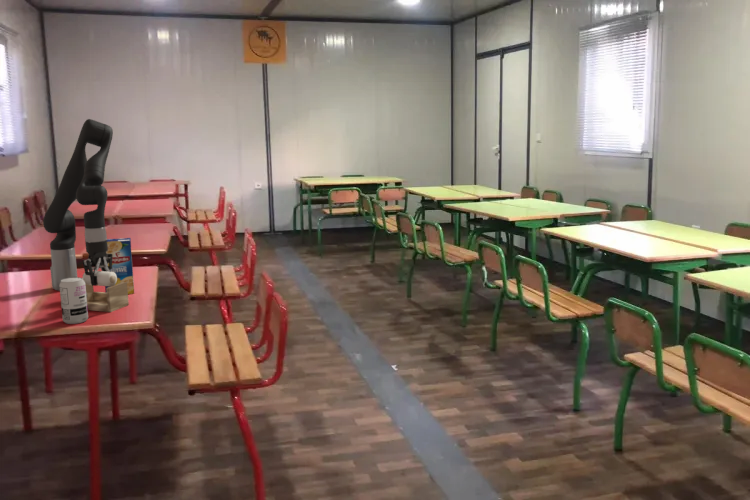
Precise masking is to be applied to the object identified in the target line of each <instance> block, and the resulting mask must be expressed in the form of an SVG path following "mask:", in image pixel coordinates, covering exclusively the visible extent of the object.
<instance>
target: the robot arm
mask: <svg viewBox="0 0 750 500" xmlns="http://www.w3.org/2000/svg"><path fill="white" fill-rule="evenodd" d="M113 131H114V130H113V127H112V126H111V125H109V124H105V123H103V122H100V121H97V120H95V119H90V118H87V119H86V120H85V121H84V122H83V124H82V127H81V130H80V132H79V135H78V139H77V142H76V144H75V148H74V149H73V153H72V155H71V158H70V159H69V161H68V163H67V164H68V165H67V166H66V168H65V171H64V174H63V176H62V179H61V181H60V183H59V186H58V188H57V190H56V193H55V195H54V198H53V199H52V201H51V203H50V204H49V207H48V209H47V210H46V212H45V214H44V217H43V220H42V222H43V223H42V224H43V227H44V230H45V231H46V232H47V233H49V234H56V235H55V238H54V239H53V240H51V241H50V243H49V245H50V248H49V249H50V256H51V257H50V260H51V266H50V268H49V269H50V277H51V278H50V279H51V287H52V288H51V289H52V290H53V289H54V290H55V291H60V287H59V285H60V283H61V280H62V279H66V278H73V277H78V270H77V258H76V248H75V247H76V245H75V243H76V240H77V233H76V232H77V231H76V230H77V229H76V218H75V215H74V213H73V212H72V210H70V209H69V208H70V207H71V205H72V204H73V203H74V202H75V201H77V202H78V203H79V205H81V206H96V205H97V206H96V209H94V210H89V211H87V212H85V213H83V222H84V223H83V225H84V243H85V251H86V253H87V254H88V257H87V259H83V260H82V265H83V269H84V270H83V271H84V272H85V274H86V275H89V276H90V278H91V284H92V286H93V287H96V286H97V285H98V282H97V276H96V275H97V271H99V269H100V271H106V272H109V270H110V269H112V256H113V255H112V254H107V253H106V252H107V251H108V245H107V239H108V236H107V229H106V224H105V223H106V222H105V213H106V212H105V210H106V205H107V201H108V197H109V195H108V191H107V188H106V187H105V186H103V184H104V180H105V168H106V164H107V159H108V157H109V153H110V148H111V144H112V141H113ZM87 144H90V145H93V146H96V147H99V148H100V149H99V150H98V151H97V152H96V153H95V154H93V155H92V156H91V157H90V158H87V154H86V153H87V152H86V146H87ZM108 263H109V266H108ZM88 270H89V272H88ZM93 271H94V273H93ZM97 287H98V286H97Z"/></svg>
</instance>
